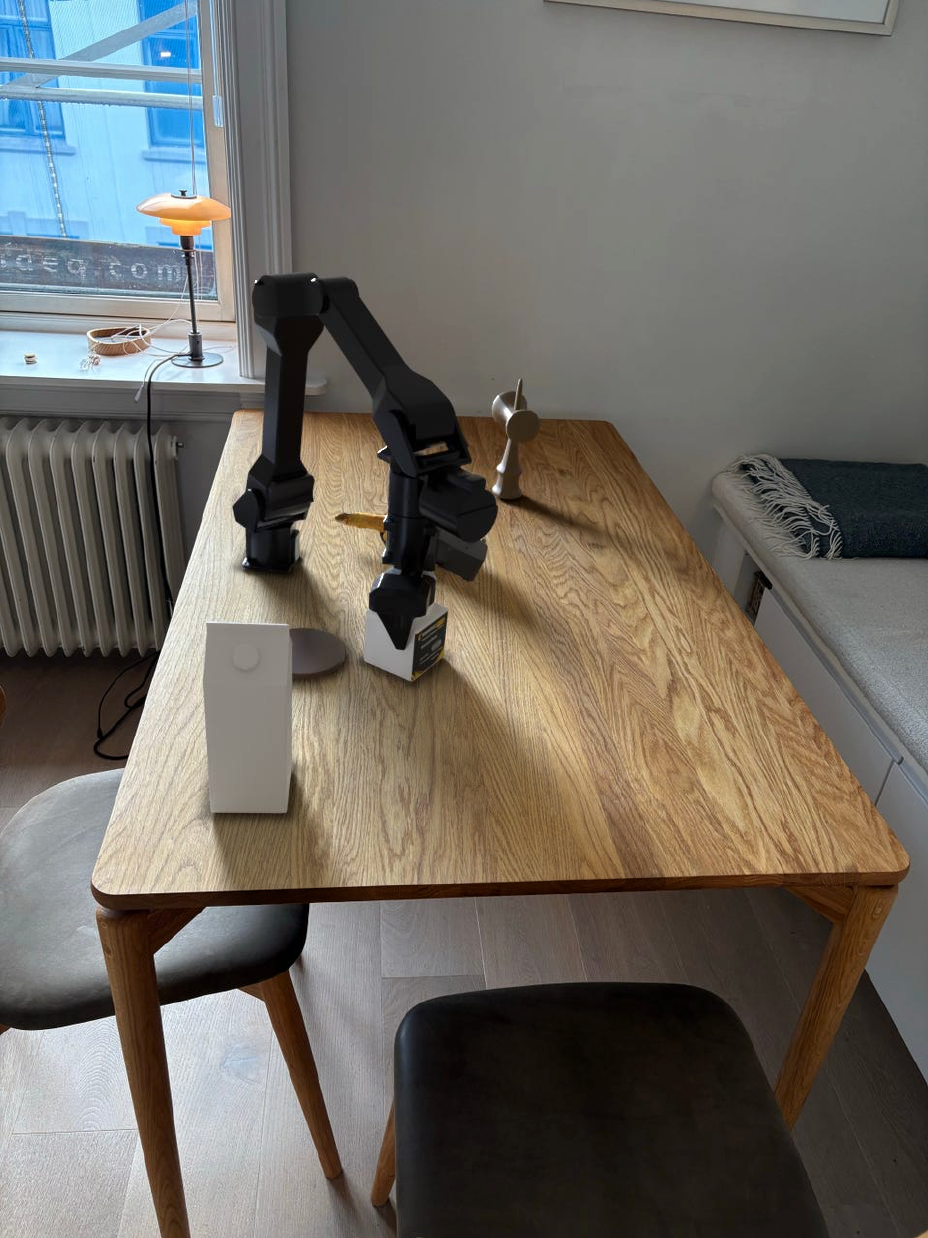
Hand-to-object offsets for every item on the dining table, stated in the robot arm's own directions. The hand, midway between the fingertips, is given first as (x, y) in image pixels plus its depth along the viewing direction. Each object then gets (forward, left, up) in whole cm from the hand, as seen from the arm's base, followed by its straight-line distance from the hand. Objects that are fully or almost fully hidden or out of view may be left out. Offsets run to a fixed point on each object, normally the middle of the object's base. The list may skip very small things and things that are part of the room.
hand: (406, 629), depth 112 cm
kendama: (+9, +53, -5) cm, 54 cm away
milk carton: (-11, -26, -5) cm, 29 cm away
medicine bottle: (0, 0, -5) cm, 5 cm away
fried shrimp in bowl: (-5, +29, -5) cm, 30 cm away
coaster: (-12, -2, -4) cm, 13 cm away
